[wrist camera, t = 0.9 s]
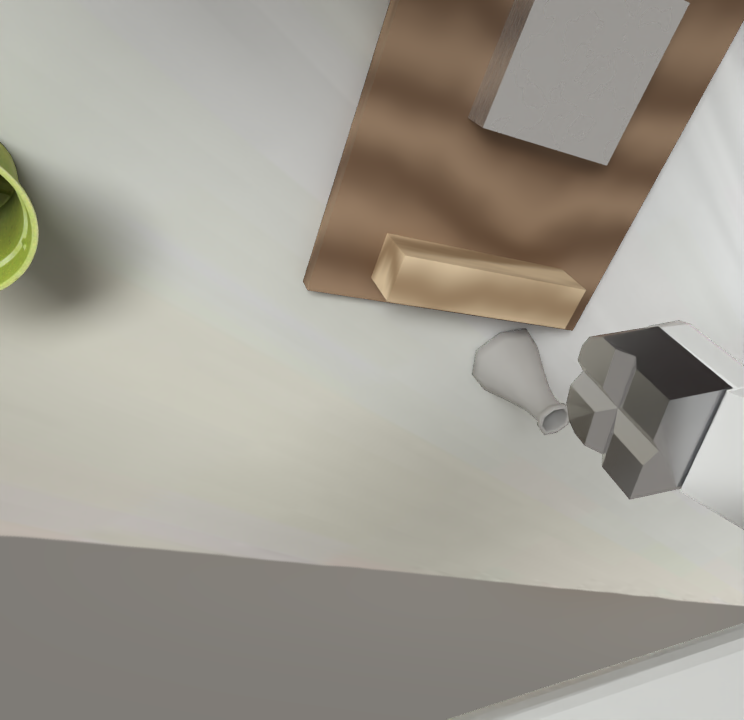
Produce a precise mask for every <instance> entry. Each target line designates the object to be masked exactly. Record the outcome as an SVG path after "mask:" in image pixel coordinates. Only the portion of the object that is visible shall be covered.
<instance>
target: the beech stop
mask: <svg viewBox="0 0 744 720" xmlns="http://www.w3.org/2000/svg"><path fill="white" fill-rule="evenodd" d="M371 278H372V280H373V281H374V283H375V284H376V286H377V287H378V289H379V290H380V292H381V293H382V295H383V296H384V298H385V299H386V300H387V302H392V303H399V304H405V305H412V306H418V307H425V308H431V309H438V310H445V311H451V312H458V313H464V314H471V315H477V316H484V317H490V318H497V319H503V320H510V321H516V322H523V323H529V324H536V325H542V326H549V327H555V328H562V329H565V328H566V326H567V324H568V322H569V320H570V319H571V317H572V315H573V313H574V311H575V309H576V308H577V306H578V304H579V302H580V300H581V298H582V297H583V295H584V293H585V291H586V290H585V289H584V288H583V287H582V286H581V285H580V284H579V283H577V282H576V281H575V280H574V279H573V278H572V277H570V276H569V275H568V274H567V273H566V272H565V271H563V270H562V269H560V268H555V267H550V266H545V265H540V264H535V263H531V262H526V261H521V260H516V259H511V258H506V257H501V256H496V255H491V254H487V253H482V252H477V251H472V250H467V249H462V248H457V247H452V246H447V245H443V244H438V243H433V242H428V241H423V240H418V239H413V238H408V237H403V236H399V235H394V234H389V233H387V235H386V238H385V241H384V244H383V246H382V249H381V252H380V255H379V257H378V260H377V263H376V265H375V268H374V271H373V274H372V276H371Z"/></svg>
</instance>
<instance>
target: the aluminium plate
mask: <svg viewBox="0 0 744 720" xmlns="http://www.w3.org/2000/svg"><path fill="white" fill-rule="evenodd" d="M689 4H690V3H689V2H687V1H685V0H514V2H513V4H512V7H511V9H510V12H509V14H508V17H507V19H506V22H505V25H504V27H503V30H502V32H501V35H500V37H499V40H498V42H497V45H496V47H495V50H494V53H493V55H492V58H491V60H490V63H489V65H488V68H487V70H486V73H485V75H484V78H483V81H482V83H481V86H480V88H479V91H478V93H477V96H476V98H475V101H474V103H473V106H472V109H471V111H470V114H469V116H468V118H469V119H471V120H472V121H473V122H475V123H476V124H478V125H479V126H481V127H482V128H485V129H489V130H492V131H495V132H498V133H502V134H505V135H508V136H511V137H515V138H518V139H521V140H525V141H528V142H531V143H534V144H538V145H541V146H544V147H547V148H551V149H554V150H557V151H561V152H564V153H567V154H570V155H574V156H577V157H580V158H583V159H587V160H590V161H593V162H597V163H600V164H603V165H606V166H607V164H608V162H609V160H610V159H611V157H612V155H613V153H614V151H615V149H616V147H617V145H618V143H619V141H620V139H621V137H622V135H623V133H624V131H625V129H626V127H627V125H628V123H629V121H630V119H631V117H632V115H633V113H634V111H635V109H636V108H637V106H638V104H639V102H640V100H641V98H642V96H643V94H644V92H645V90H646V88H647V86H648V84H649V82H650V80H651V78H652V76H653V74H654V72H655V70H656V68H657V66H658V64H659V62H660V60H661V58H662V57H663V55H664V53H665V51H666V49H667V47H668V45H669V43H670V41H671V39H672V37H673V35H674V33H675V31H676V29H677V27H678V25H679V23H680V21H681V19H682V17H683V15H684V13H685V11H686V9H687V7H688V6H689Z"/></svg>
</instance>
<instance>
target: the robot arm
mask: <svg viewBox="0 0 744 720" xmlns="http://www.w3.org/2000/svg"><path fill="white" fill-rule="evenodd" d="M578 362H579V364H580V366H581V368H582V370H583V372H582V373H581V374H580V375H579V376H578V377H577V378H576V379H575V380H574V382H573V383H572V384H571V385H570V390H569V394H568V398H567V402H566V404H567V411H568V418H569V422H570V424H571V426H572V428H573V430H574V433H575V434H576V435H577V437H578V438H579V439H580V440H581V442H582V443H583V444H584V445H585V446H587V447H589V448H591V449H593V450H595V451H597V452H599V453H601V454H602V467H603V468H604V470H605V471H606V472H607V473H608V474H609V476H610V477H611V478H612V479H613V480H614V482H615V483H616V484H617V485H618V486H619V488H620V489H621V490H622V491H623V492H624V493H625V495H626V496H627V497H628V498H629V499H634V498H639V497H644V496H648V495H653V494H658V493H662V492H667V491H672V490H676V489H681V490H680V492H681V493H683V494H685V495H686V496H688V497H690V498H691V499H693V500H695V501H697V502H698V503H700V504H702V505H703V506H705V507H707V508H708V509H710V510H712V511H713V512H715V513H717V514H718V515H720V516H722V517H723V518H725V519H727V520H728V521H730V522H732V523H733V524H735V525H737V526H738V527H740V528H742V529H743V530H744V365H743V364H741V363H740V362H739V361H737V360H736V359H735V358H734V357H732V356H731V355H730V354H728V353H727V352H726V351H725V350H723V349H722V348H721V347H719V346H718V345H717V344H716V343H714V342H713V341H712V340H710V339H709V338H708V337H707V336H705V335H704V334H703V333H701V332H700V331H699V330H698V329H696V328H695V327H694V326H693V325H691V324H689V323H686V322H682V321H679V320H678V321H673V322H667V323H662V324H657V325H651V326H649V327H646V328H639V329H633V330H627V331H621V332H616V333H610V334H604V335H598V336H592V337H589V338H588V339H587V340H586V342H585V343H584V344H583V345H582V348H581V351H580V354H579V357H578ZM447 720H744V623H742V624H739V625H735V626H733V627H729V628H726V629H723V630H720V631H717V632H714V633H711V634H708V635H705V636H702V637H699V638H696V639H693V640H689V641H687V642H683V643H680V644H677V645H674V646H671V647H668V648H665V649H662V650H659V651H656V652H652V653H650V654H646V655H643V656H640V657H637V658H634V659H631V660H628V661H625V662H622V663H619V664H616V665H613V666H609V667H607V668H603V669H600V670H597V671H594V672H591V673H588V674H585V675H582V676H579V677H576V678H573V679H570V680H566V681H563V682H560V683H557V684H554V685H551V686H548V687H545V688H542V689H539V690H536V691H533V692H530V693H527V694H523V695H520V696H517V697H514V698H511V699H508V700H505V701H502V702H499V703H496V704H493V705H490V706H487V707H484V708H481V709H478V710H475V711H472V712H468V713H465V714H462V715H459V716H457V717H453V718H450V719H447Z"/></svg>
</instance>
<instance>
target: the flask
mask: <svg viewBox="0 0 744 720" xmlns="http://www.w3.org/2000/svg"><path fill="white" fill-rule="evenodd" d="M472 375H473V376H474V377H475V378H476V380H477V381H478V382H479V383H480V385H481V386H482V387H483V388H484V390H486V391H488V392H490V393H492V394H495V395H497V396H499V397H501V398H503V399H505V400H507V401H509V402H511V403H513V404H515V405H517V406H519V407H521V408H523V409H524V410H525V411H527V412H528V413H529V414H530V415H532V416H533V417H534V418H535V419H536V420H537V421H538V422H537V425H538V427H539V428H540V430H541V431H542V432H543V434H544V435H546V434H551V433H556V432H558V431H559V430H561V429H562V428H564V427H565V426H566V425H568V423H569V418H568V411H567V406H566V405H565V404H563V403H561V404H560V403H559V402H558V401H557V400H556V398H555V397H554V395H553V394H552V392H551V390H550V388H549V385H548V382H547V379H546V376H545V373H544V370H543V366H542V362H541V359H540V355H539V351H538V348H537V345H536V344H535V342H534V341H533V339H532V337H531V336H530V334H529V333H528V331H527V330H526V329H521V330H515V331H508V332H501V333H499V334H498V335H496V336H495V337H494V338H492V339H491V340H490V341H488V342H487V343H486V344H484V345H483V346H482V347H480V348H479V349H478V350H476V354H475V360H474V366H473V372H472Z"/></svg>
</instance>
